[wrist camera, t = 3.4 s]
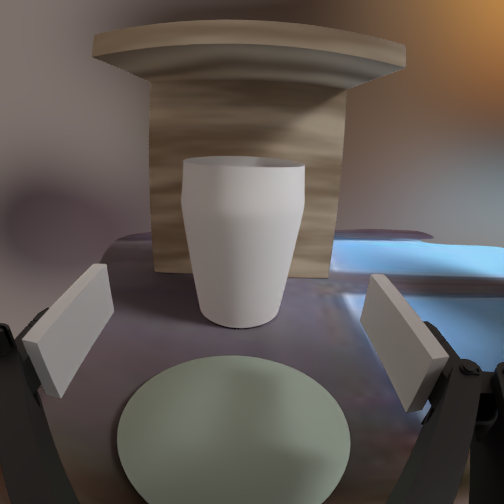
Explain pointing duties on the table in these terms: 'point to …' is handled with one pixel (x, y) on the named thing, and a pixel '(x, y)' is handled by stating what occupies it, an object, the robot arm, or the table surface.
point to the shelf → (247, 112)
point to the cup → (241, 233)
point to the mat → (233, 435)
